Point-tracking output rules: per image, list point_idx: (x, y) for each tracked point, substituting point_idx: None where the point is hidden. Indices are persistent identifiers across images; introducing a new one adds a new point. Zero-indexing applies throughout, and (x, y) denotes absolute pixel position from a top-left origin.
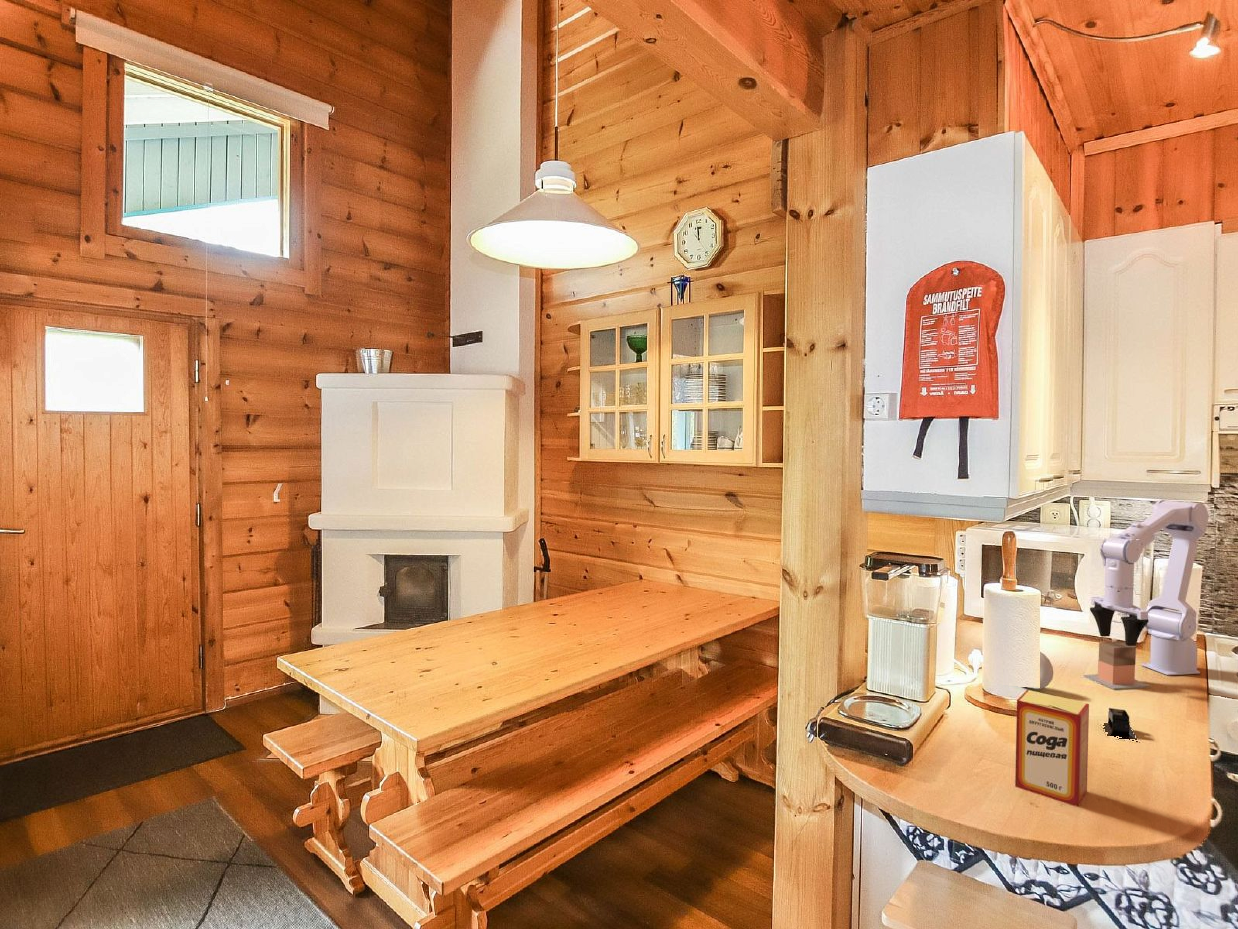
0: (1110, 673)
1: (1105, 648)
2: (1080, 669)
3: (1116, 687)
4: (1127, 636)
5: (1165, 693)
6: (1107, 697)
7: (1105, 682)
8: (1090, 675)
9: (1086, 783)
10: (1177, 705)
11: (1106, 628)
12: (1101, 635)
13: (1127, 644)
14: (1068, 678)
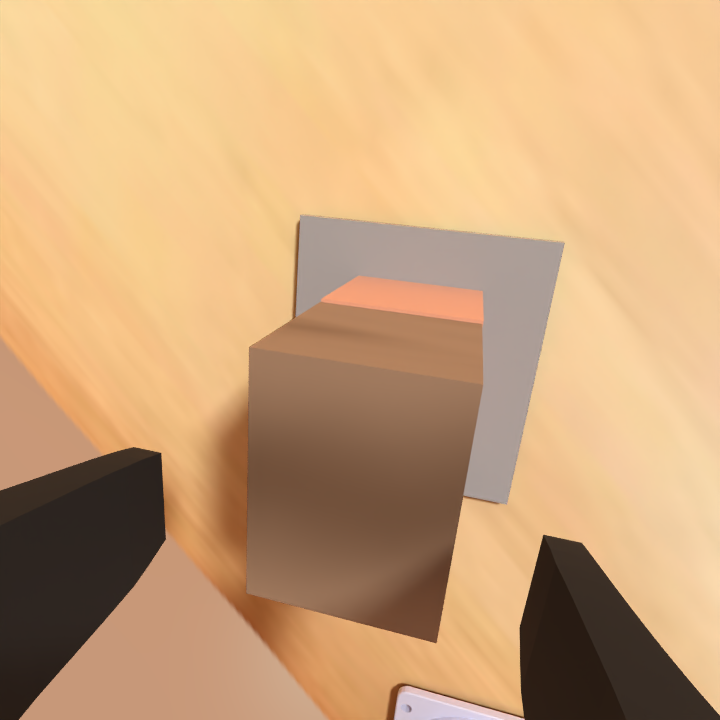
0: (363, 290)
1: (383, 352)
2: (694, 362)
3: (306, 245)
4: (9, 494)
5: (214, 443)
6: (207, 47)
7: (396, 259)
8: (538, 283)
9: None
10: (78, 341)
11: (547, 705)
12: (556, 542)
13: (128, 453)
14: (583, 83)
